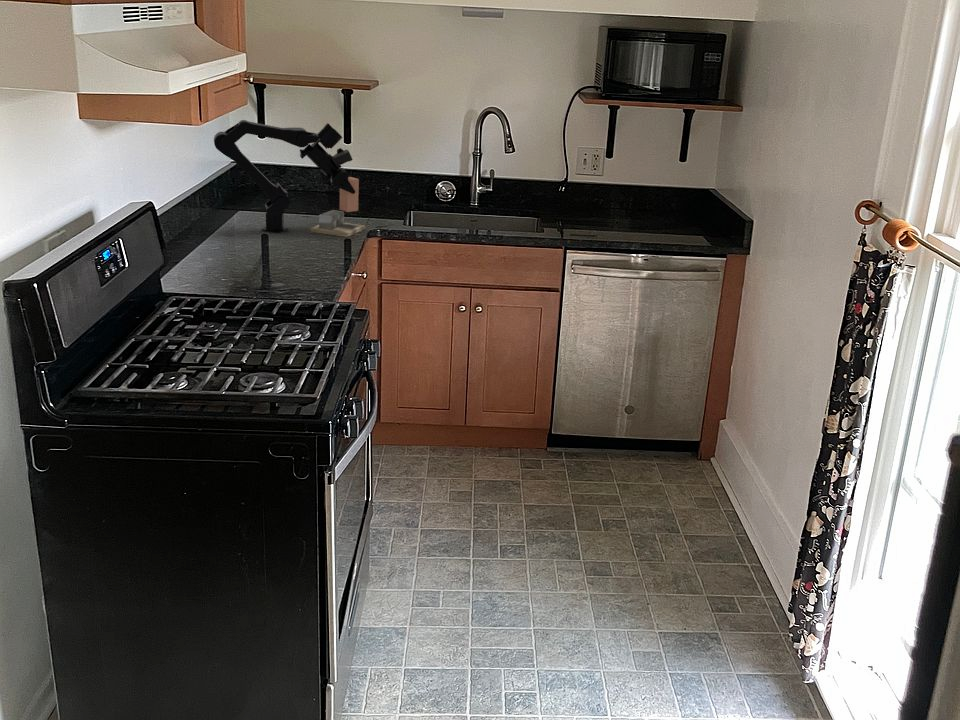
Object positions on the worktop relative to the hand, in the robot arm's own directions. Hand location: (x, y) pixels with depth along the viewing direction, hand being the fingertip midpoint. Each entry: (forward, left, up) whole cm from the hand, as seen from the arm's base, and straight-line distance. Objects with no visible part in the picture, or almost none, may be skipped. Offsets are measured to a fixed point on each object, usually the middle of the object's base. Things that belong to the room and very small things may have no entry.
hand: (353, 191), depth 322 cm
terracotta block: (-1, +1, -7) cm, 7 cm away
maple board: (-4, +4, -13) cm, 15 cm away
